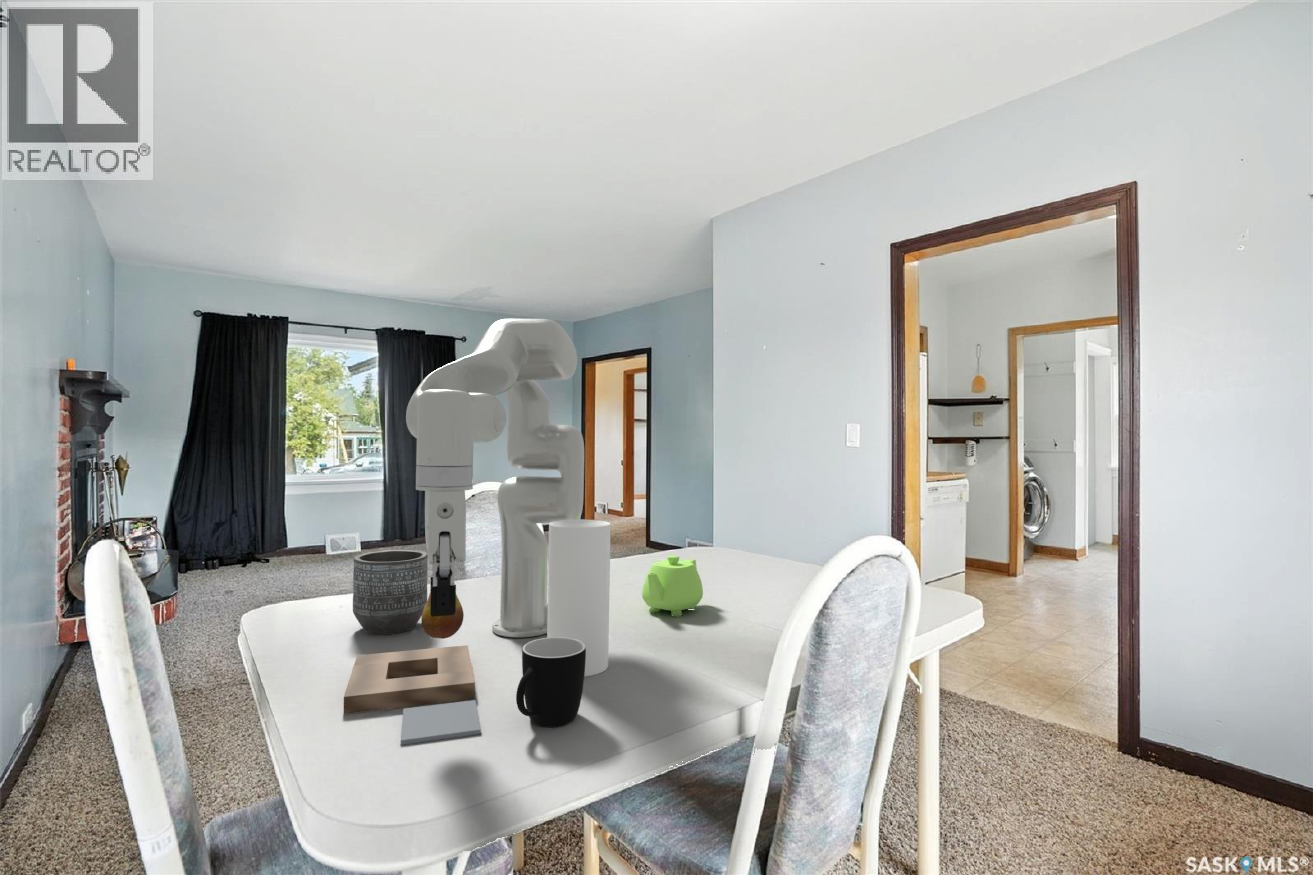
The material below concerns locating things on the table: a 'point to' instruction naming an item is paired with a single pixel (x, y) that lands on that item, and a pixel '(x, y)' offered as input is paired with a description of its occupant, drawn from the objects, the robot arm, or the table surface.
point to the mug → (552, 680)
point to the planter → (389, 590)
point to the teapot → (672, 586)
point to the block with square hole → (409, 679)
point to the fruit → (441, 621)
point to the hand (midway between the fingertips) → (442, 608)
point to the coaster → (439, 722)
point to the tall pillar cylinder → (580, 587)
